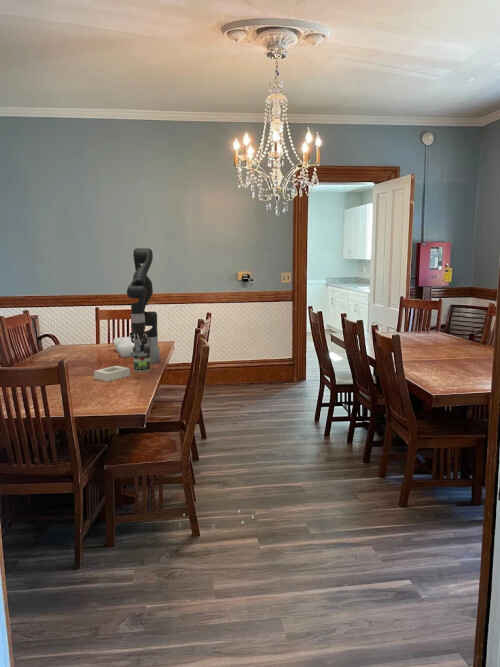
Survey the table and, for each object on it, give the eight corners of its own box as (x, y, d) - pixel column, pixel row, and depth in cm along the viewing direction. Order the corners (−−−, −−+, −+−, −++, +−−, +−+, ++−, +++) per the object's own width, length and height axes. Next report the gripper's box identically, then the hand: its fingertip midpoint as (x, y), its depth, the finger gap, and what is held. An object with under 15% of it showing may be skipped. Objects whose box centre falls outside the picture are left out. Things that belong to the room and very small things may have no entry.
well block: (117, 373, 305) (116, 365, 304) (130, 375, 297) (129, 368, 297) (94, 378, 292) (93, 370, 292) (107, 381, 285) (106, 373, 284)
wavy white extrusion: (142, 357, 348) (141, 342, 347) (117, 359, 343) (116, 344, 341) (135, 348, 381) (135, 334, 379) (112, 350, 376) (112, 335, 374)
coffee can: (151, 371, 308) (150, 348, 306) (134, 372, 306) (132, 349, 303) (150, 367, 318) (149, 345, 316) (133, 368, 315) (132, 346, 313)
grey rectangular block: (139, 353, 295) (138, 337, 293) (143, 354, 292) (143, 338, 291) (130, 355, 290) (129, 339, 288) (134, 356, 287) (134, 340, 286)
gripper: (151, 321, 288) (153, 351, 291) (135, 319, 296) (136, 348, 300) (141, 323, 282) (142, 353, 285) (124, 321, 291) (126, 350, 294)
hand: (139, 350), depth 292 cm, fingers closed on grey rectangular block, 4 cm apart
